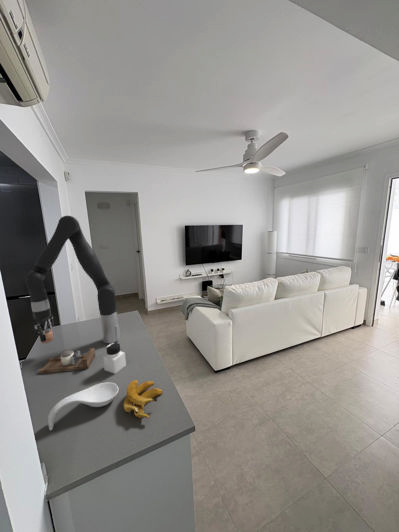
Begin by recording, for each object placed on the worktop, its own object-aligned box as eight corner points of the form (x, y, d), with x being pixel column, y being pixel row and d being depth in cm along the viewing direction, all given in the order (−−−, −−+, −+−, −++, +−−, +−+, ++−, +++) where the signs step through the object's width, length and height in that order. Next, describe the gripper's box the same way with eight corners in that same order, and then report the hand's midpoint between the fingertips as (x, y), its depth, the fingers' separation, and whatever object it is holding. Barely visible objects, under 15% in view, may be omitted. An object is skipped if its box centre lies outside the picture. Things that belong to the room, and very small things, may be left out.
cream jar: (76, 359, 111) (75, 349, 110) (72, 366, 105) (70, 355, 104) (65, 360, 110) (63, 350, 109) (59, 367, 104) (57, 356, 103)
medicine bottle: (126, 365, 106) (124, 342, 104) (115, 374, 99) (112, 350, 97) (115, 362, 109) (113, 340, 107) (104, 370, 102) (101, 347, 100)
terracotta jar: (55, 337, 118) (53, 327, 117) (50, 342, 113) (48, 332, 112) (44, 338, 118) (42, 328, 117) (38, 344, 112) (36, 333, 111)
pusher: (81, 358, 111) (79, 349, 110) (75, 366, 105) (73, 356, 104) (78, 358, 111) (77, 349, 110) (72, 366, 105) (71, 357, 104)
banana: (130, 432, 71) (129, 417, 70) (118, 395, 87) (117, 383, 86) (173, 410, 79) (172, 397, 78) (154, 380, 95) (153, 369, 94)
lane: (95, 356, 114) (94, 348, 113) (88, 368, 104) (86, 359, 103) (50, 360, 111) (49, 352, 110) (38, 373, 101) (37, 364, 101)
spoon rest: (113, 385, 93) (111, 370, 92) (123, 401, 84) (122, 384, 83) (47, 417, 78) (43, 399, 77) (51, 440, 69) (48, 421, 68)
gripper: (40, 313, 105) (46, 344, 108) (56, 303, 119) (61, 331, 122) (24, 314, 104) (30, 346, 108) (41, 304, 119) (47, 332, 122)
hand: (47, 338), depth 115 cm, fingers closed on terracotta jar, 5 cm apart
